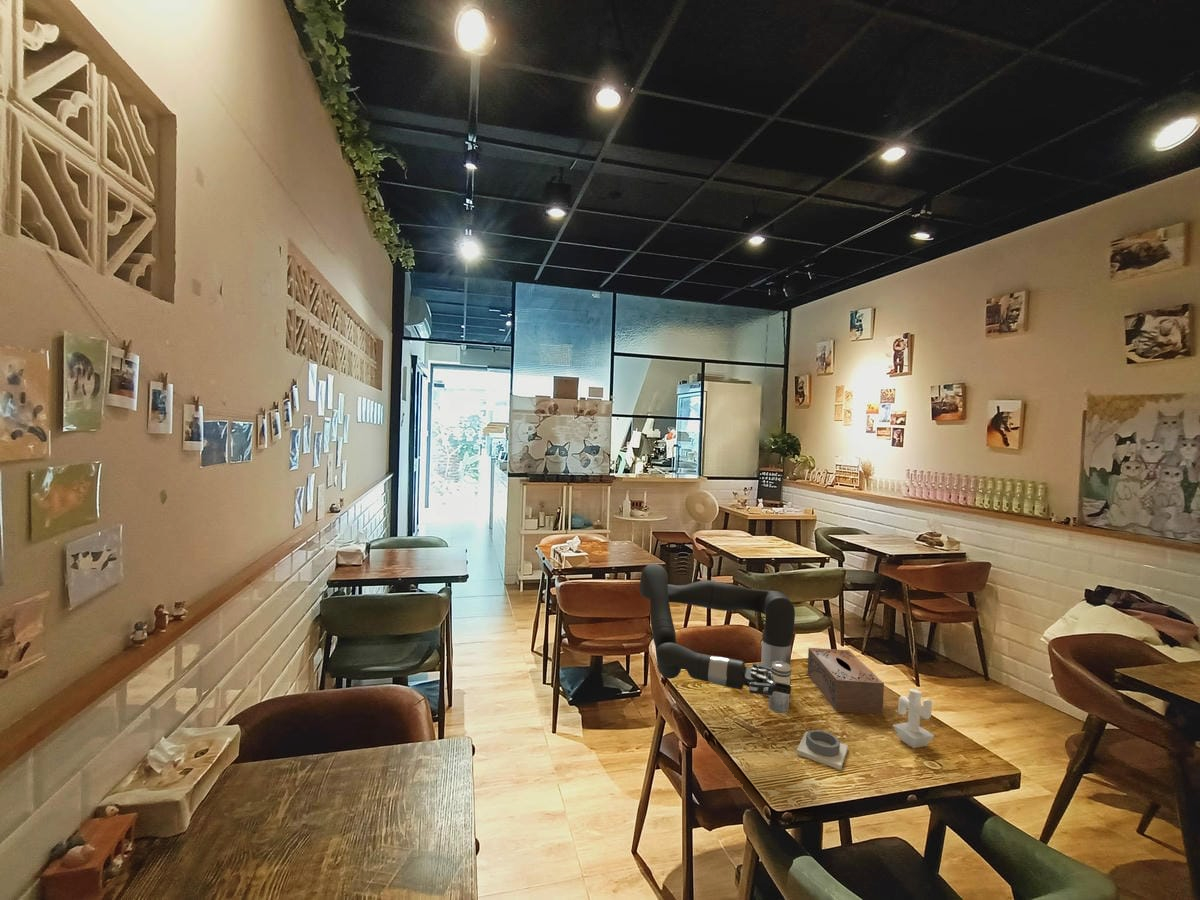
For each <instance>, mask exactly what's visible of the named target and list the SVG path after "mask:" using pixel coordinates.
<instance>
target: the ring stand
mask: <svg viewBox="0 0 1200 900" xmlns="http://www.w3.org/2000/svg"><path fill="white" fill-rule="evenodd" d="M848 751H849V745H848V744H845V743H842V742H841V741H840V740H839V738H838V737H837V736H835V735H834V734H832V733H831V732H828V731H825V730H822V729H821V730H819V729H812V730H809V731H805V732H804V735H802V738H801V740H800V742H799V744H798V746H797V748H796V753H795V754H796V755H799V756H800V757H803V758H806V759H809V760H811V761H813V762H814V761H815V762H818V763H820V764H823V765H825V766H828V767H832V768H834V769H836V770H839V771H841V770H842V768H843V765H844V762H845V760H846V756H847V753H848Z"/></svg>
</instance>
